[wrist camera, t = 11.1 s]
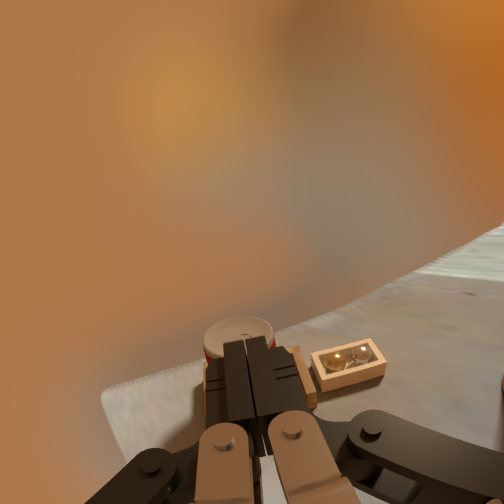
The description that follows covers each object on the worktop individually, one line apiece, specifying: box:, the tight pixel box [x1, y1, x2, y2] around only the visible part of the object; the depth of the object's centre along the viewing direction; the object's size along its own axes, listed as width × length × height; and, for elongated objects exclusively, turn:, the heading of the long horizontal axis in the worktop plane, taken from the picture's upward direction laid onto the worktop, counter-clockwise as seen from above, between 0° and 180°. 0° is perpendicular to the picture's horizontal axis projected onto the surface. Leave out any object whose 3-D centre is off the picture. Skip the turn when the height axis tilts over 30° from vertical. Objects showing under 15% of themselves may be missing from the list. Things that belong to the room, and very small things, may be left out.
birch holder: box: [203, 346, 317, 418], centre depth 38 cm, size 13×9×3 cm
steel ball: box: [350, 345, 372, 366], centre depth 39 cm, size 3×3×3 cm
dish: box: [311, 338, 387, 393], centre depth 39 cm, size 9×6×2 cm, turn 96°
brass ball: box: [324, 352, 346, 373], centre depth 39 cm, size 3×3×3 cm
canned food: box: [202, 316, 276, 364], centre depth 36 cm, size 8×8×11 cm
